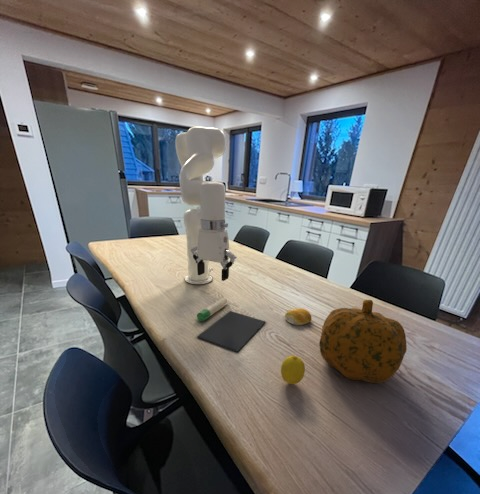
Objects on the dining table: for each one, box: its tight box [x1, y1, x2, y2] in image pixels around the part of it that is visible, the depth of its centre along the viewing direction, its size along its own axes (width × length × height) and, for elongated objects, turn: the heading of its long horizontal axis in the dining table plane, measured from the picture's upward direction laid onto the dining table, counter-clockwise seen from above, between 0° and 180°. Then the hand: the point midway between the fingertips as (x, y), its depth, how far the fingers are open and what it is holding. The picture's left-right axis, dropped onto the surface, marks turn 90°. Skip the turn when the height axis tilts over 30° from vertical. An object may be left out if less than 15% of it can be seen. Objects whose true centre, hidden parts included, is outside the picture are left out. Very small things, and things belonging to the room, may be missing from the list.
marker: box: [196, 297, 229, 322], centre depth 95 cm, size 15×3×3 cm, turn 152°
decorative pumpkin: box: [318, 299, 408, 384], centre depth 67 cm, size 20×21×20 cm
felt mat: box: [197, 310, 266, 353], centre depth 85 cm, size 20×14×1 cm
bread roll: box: [284, 308, 312, 326], centre depth 93 cm, size 8×9×4 cm
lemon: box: [280, 355, 306, 385], centre depth 63 cm, size 6×6×8 cm
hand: (212, 276), depth 90 cm, fingers open, 9 cm apart
